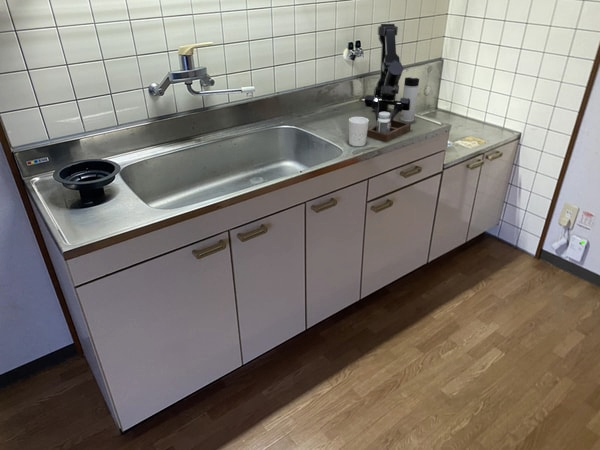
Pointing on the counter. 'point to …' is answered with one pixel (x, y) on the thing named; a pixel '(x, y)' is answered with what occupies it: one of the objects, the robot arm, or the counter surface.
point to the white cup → (358, 131)
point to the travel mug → (410, 93)
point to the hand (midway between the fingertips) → (383, 121)
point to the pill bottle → (383, 122)
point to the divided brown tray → (393, 132)
